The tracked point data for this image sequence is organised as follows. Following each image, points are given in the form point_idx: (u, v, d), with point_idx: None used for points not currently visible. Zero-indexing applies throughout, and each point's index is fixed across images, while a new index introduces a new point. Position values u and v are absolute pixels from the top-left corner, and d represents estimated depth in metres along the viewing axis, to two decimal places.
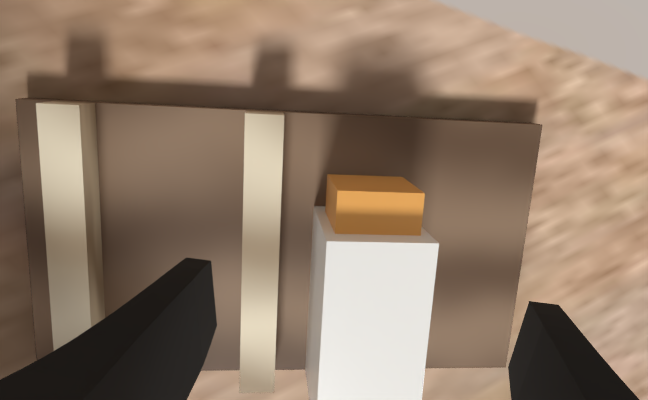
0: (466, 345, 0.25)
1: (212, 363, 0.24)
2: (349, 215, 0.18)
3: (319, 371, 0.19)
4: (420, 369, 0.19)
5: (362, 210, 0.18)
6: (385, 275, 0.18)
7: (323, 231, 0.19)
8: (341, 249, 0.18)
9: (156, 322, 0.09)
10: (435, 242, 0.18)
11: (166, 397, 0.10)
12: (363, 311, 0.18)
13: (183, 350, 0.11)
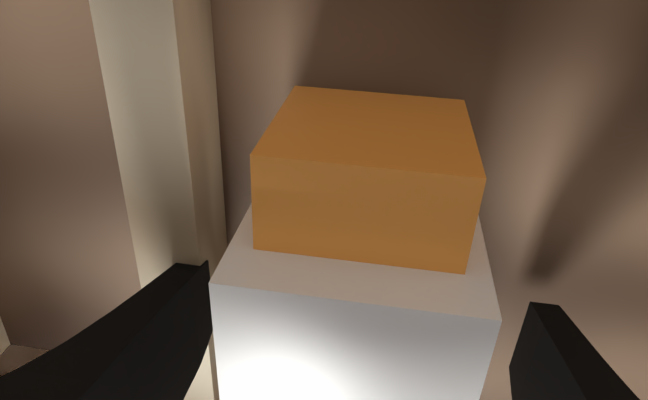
0: None
1: None
2: (284, 214, 0.07)
3: None
4: None
5: (314, 206, 0.07)
6: (356, 367, 0.07)
7: (236, 235, 0.08)
8: (246, 303, 0.07)
9: (153, 321, 0.09)
10: (493, 314, 0.07)
11: (163, 396, 0.10)
12: None
13: (180, 350, 0.11)
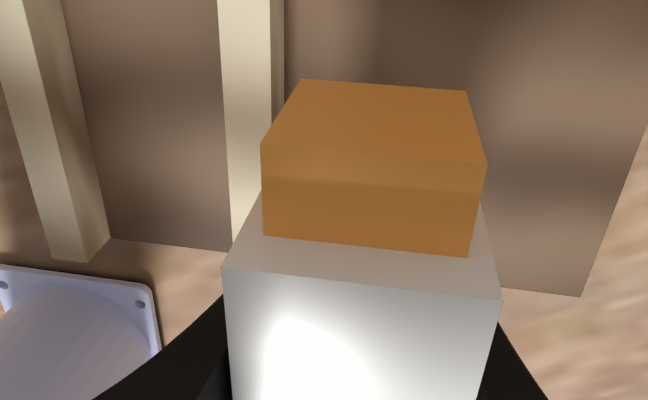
0: (529, 264, 0.19)
1: (216, 244, 0.21)
2: (293, 201, 0.08)
3: None
4: None
5: (322, 192, 0.08)
6: (363, 347, 0.08)
7: (246, 222, 0.08)
8: (257, 286, 0.07)
9: None
10: (494, 295, 0.07)
11: None
12: None
13: None
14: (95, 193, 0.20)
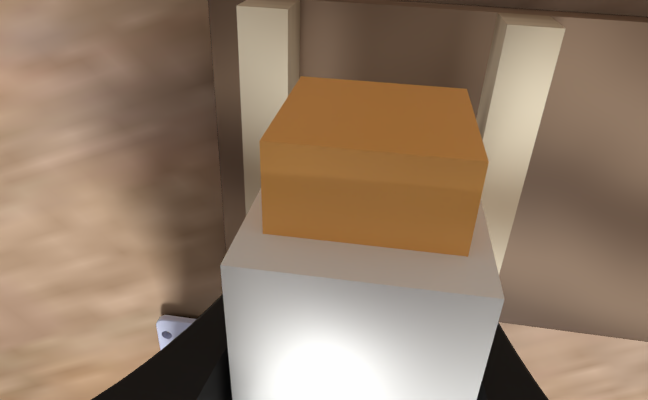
0: None
1: None
2: (292, 199, 0.08)
3: None
4: None
5: (322, 191, 0.08)
6: (364, 345, 0.08)
7: (245, 221, 0.08)
8: (256, 284, 0.07)
9: None
10: (495, 293, 0.07)
11: None
12: None
13: None
14: None
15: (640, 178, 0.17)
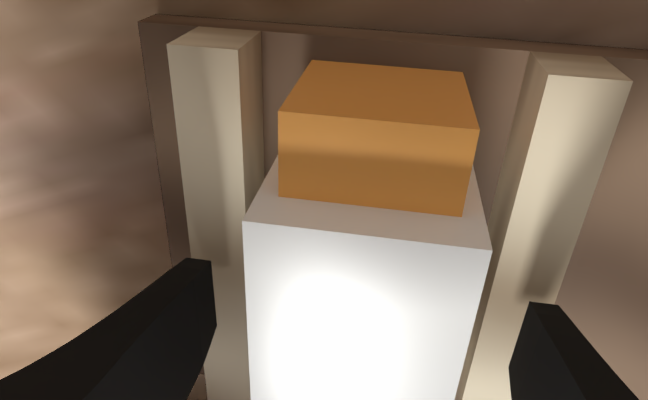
0: None
1: None
2: (306, 164, 0.09)
3: None
4: None
5: (332, 156, 0.08)
6: (368, 296, 0.09)
7: (262, 186, 0.09)
8: (274, 239, 0.08)
9: (156, 322, 0.09)
10: (485, 246, 0.08)
11: (166, 397, 0.10)
12: (325, 348, 0.09)
13: (183, 350, 0.11)
14: None
15: None
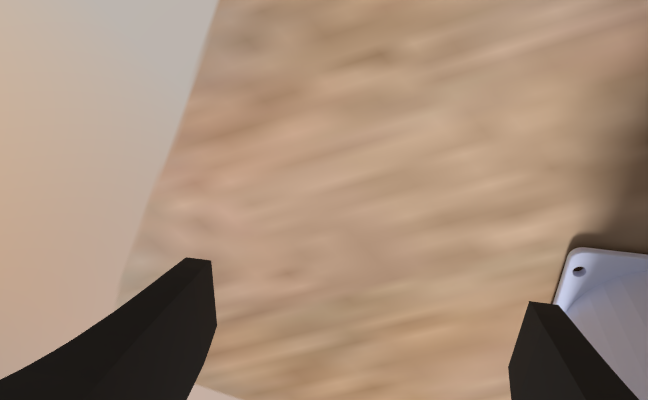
0: None
1: None
2: None
3: None
4: None
5: None
6: None
7: None
8: None
9: (156, 322, 0.09)
10: None
11: (166, 397, 0.10)
12: None
13: (183, 350, 0.11)
14: None
15: None
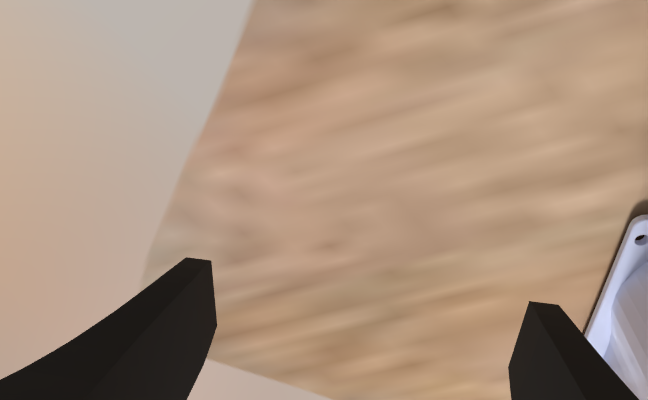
0: None
1: None
2: None
3: None
4: None
5: None
6: None
7: None
8: None
9: (156, 322, 0.09)
10: None
11: (166, 397, 0.10)
12: None
13: (183, 350, 0.11)
14: None
15: None
